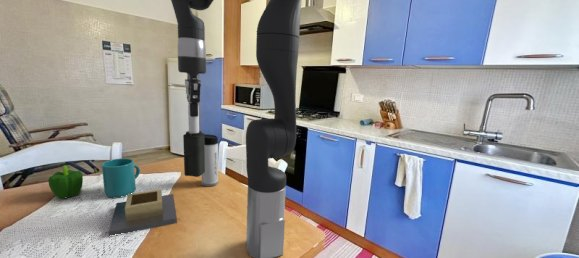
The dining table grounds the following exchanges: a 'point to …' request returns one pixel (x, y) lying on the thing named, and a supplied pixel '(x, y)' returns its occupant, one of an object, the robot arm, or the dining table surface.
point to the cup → (119, 177)
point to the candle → (194, 148)
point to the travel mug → (210, 161)
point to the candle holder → (143, 212)
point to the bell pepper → (66, 183)
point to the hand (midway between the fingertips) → (193, 115)
